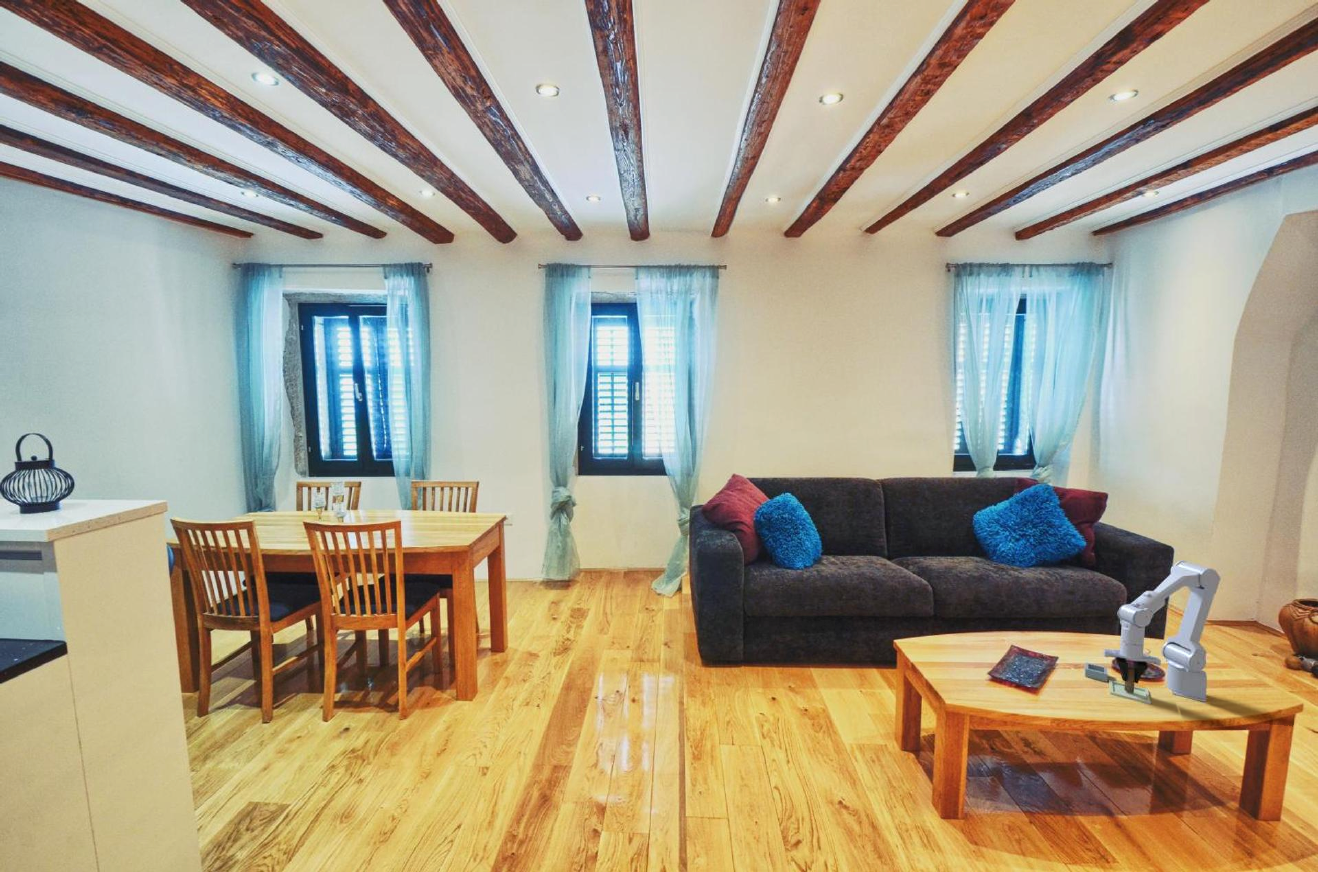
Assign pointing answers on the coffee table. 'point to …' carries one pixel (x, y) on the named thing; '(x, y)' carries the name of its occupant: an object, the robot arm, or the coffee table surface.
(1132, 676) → the dowel
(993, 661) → the coffee table surface
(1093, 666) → the grey open box
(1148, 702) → the tray
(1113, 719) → the coffee table surface
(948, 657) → the coffee table surface
